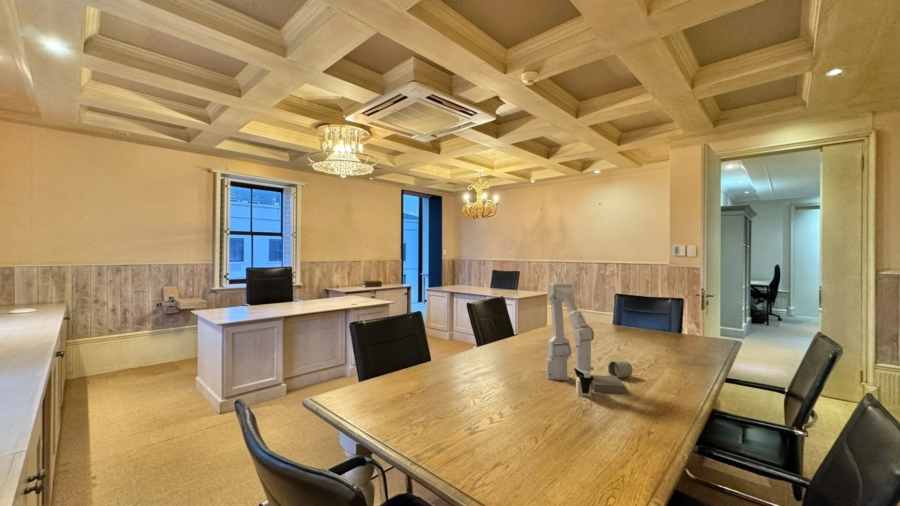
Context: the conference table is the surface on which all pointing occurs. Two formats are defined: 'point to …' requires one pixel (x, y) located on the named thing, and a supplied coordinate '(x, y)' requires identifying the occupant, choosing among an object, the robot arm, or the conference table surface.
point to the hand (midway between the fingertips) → (583, 389)
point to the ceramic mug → (620, 369)
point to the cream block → (579, 388)
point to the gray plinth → (607, 384)
